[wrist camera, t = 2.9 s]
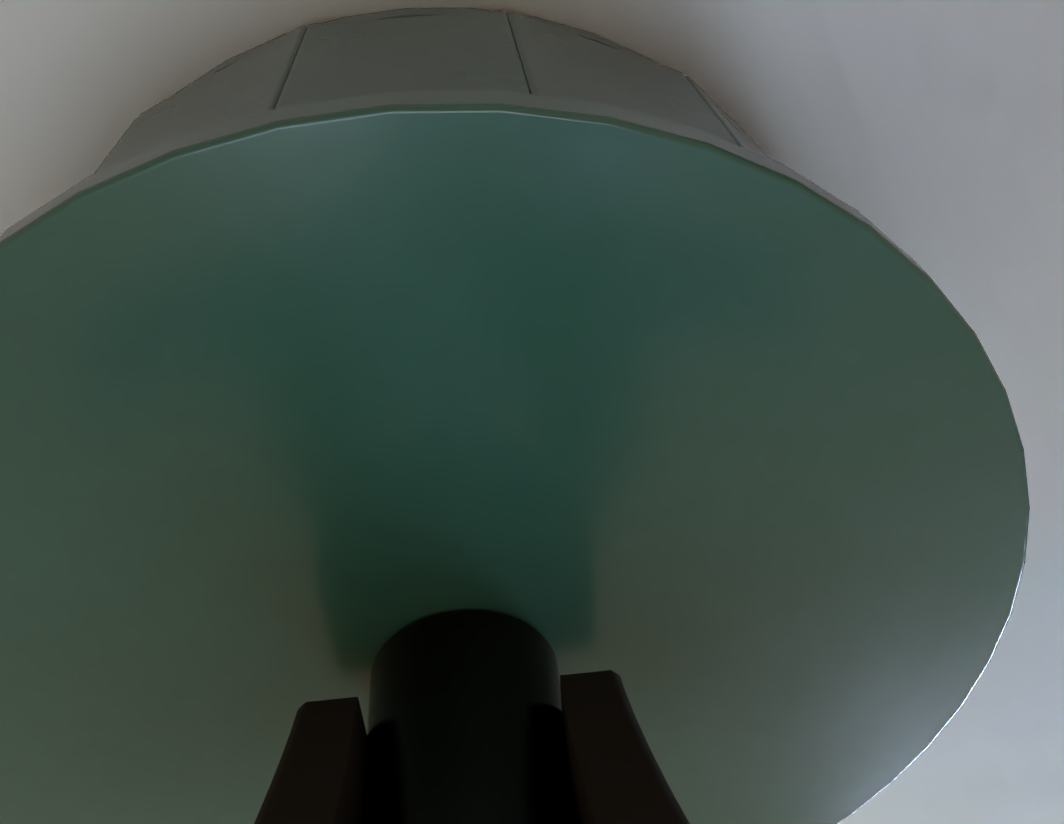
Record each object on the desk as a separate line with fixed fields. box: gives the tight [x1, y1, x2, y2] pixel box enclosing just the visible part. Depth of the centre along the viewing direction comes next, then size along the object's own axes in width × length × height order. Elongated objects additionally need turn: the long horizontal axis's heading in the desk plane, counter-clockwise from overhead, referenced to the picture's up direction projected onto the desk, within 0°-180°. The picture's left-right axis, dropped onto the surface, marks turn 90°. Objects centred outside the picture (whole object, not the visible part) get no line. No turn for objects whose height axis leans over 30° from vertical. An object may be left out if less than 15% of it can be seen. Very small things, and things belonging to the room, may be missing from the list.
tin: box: [93, 8, 770, 175], centre depth 15 cm, size 14×14×6 cm
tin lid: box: [0, 90, 1030, 824], centre depth 11 cm, size 15×15×5 cm
